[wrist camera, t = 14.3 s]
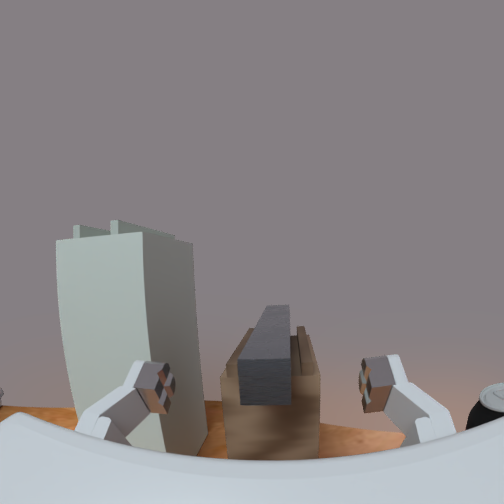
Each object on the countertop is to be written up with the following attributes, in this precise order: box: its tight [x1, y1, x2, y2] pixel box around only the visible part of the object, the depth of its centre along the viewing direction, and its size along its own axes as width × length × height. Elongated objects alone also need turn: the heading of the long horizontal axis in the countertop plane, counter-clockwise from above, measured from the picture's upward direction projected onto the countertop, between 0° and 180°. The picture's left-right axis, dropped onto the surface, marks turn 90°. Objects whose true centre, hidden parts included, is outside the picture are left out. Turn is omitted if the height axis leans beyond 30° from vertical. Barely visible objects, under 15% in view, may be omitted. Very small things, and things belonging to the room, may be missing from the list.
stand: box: [56, 220, 208, 456], centre depth 31 cm, size 10×14×27 cm
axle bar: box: [237, 305, 291, 406], centre depth 27 cm, size 3×23×3 cm, turn 173°
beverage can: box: [466, 383, 504, 430], centre depth 14 cm, size 6×6×12 cm
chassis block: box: [220, 326, 320, 460], centre depth 26 cm, size 7×13×16 cm, turn 173°
